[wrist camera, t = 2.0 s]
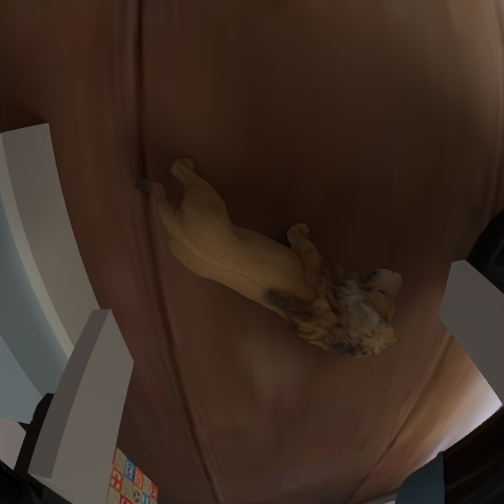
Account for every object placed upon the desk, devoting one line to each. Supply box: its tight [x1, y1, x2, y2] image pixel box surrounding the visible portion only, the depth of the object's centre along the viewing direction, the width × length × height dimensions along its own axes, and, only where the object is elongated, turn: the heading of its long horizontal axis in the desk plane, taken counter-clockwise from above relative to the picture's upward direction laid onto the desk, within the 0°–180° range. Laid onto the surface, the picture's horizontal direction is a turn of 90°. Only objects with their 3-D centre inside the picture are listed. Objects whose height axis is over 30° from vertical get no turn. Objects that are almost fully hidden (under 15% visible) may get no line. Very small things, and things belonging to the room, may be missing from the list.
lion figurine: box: [134, 157, 402, 358], centre depth 15 cm, size 15×5×9 cm, turn 66°
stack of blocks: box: [106, 446, 158, 504], centre depth 27 cm, size 21×6×12 cm, turn 7°
